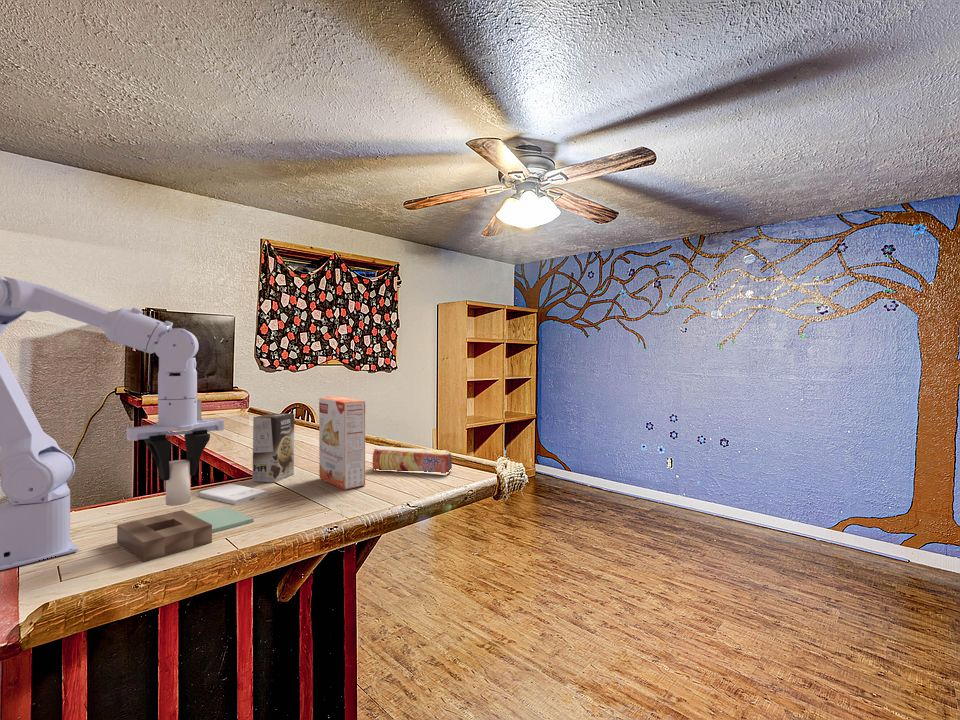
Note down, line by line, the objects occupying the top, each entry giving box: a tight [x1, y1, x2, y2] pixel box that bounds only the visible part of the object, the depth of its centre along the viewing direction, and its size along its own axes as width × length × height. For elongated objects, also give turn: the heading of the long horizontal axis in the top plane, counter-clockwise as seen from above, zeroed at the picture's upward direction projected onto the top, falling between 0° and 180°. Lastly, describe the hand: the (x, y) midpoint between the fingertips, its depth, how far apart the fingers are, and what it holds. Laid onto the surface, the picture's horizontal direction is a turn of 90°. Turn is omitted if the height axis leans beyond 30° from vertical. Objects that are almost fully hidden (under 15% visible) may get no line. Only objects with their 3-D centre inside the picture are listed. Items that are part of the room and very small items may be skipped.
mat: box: [192, 506, 255, 534], centre depth 93 cm, size 9×11×1 cm
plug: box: [165, 459, 191, 507], centre depth 84 cm, size 4×4×7 cm
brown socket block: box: [116, 509, 213, 563], centre depth 82 cm, size 10×12×3 cm
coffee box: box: [251, 413, 295, 484], centre depth 125 cm, size 9×6×16 cm
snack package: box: [372, 445, 453, 473], centre depth 133 cm, size 21×7×7 cm, turn 79°
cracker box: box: [318, 395, 366, 491], centre depth 121 cm, size 14×6×21 cm, turn 42°
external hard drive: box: [198, 483, 269, 506], centre depth 109 cm, size 2×8×12 cm
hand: (178, 476), depth 84 cm, fingers closed on plug, 4 cm apart
